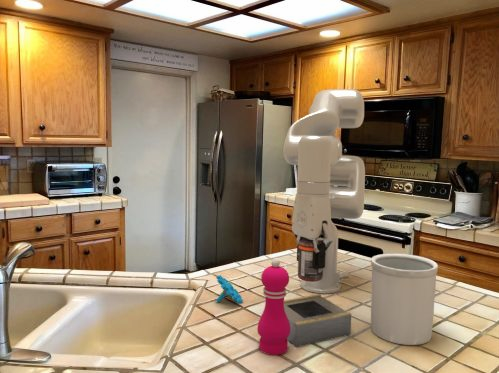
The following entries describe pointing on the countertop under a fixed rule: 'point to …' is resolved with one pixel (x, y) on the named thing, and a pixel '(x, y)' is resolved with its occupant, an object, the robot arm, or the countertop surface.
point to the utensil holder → (403, 298)
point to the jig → (315, 320)
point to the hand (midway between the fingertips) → (310, 263)
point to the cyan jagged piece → (228, 290)
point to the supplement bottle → (307, 261)
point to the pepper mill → (274, 311)
